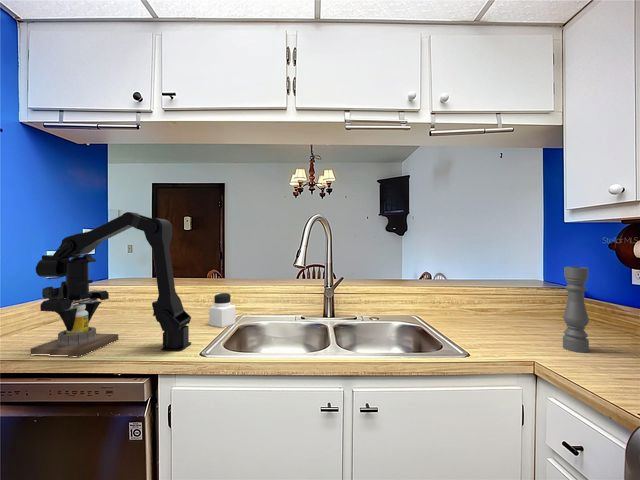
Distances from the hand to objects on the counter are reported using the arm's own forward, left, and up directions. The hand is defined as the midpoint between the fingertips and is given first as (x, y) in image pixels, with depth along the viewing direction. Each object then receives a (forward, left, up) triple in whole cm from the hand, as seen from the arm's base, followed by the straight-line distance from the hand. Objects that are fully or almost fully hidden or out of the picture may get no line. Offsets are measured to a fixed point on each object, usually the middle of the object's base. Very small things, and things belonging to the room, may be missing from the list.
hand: (77, 328), depth 96 cm
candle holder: (-152, -13, -6) cm, 153 cm away
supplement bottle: (0, 0, -3) cm, 3 cm away
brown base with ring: (0, 0, -6) cm, 6 cm away
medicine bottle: (-34, -29, -6) cm, 45 cm away
